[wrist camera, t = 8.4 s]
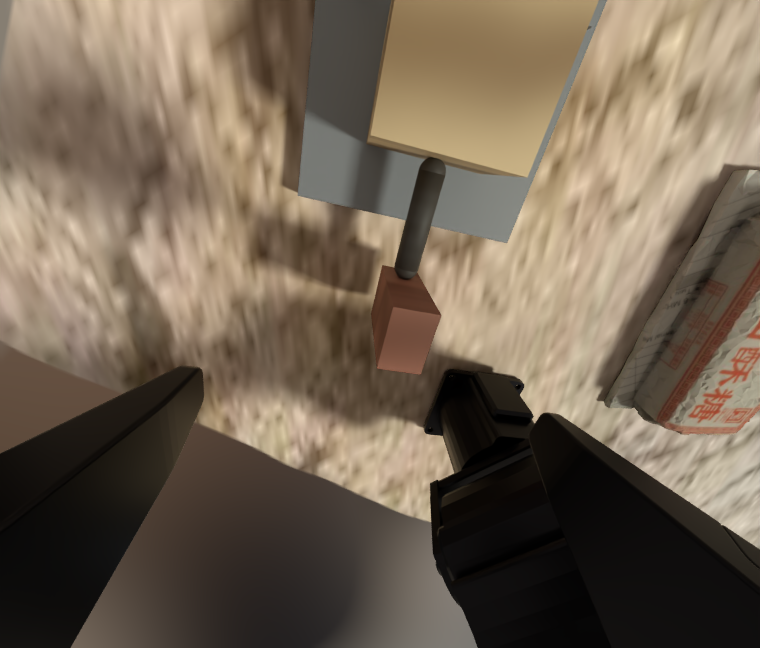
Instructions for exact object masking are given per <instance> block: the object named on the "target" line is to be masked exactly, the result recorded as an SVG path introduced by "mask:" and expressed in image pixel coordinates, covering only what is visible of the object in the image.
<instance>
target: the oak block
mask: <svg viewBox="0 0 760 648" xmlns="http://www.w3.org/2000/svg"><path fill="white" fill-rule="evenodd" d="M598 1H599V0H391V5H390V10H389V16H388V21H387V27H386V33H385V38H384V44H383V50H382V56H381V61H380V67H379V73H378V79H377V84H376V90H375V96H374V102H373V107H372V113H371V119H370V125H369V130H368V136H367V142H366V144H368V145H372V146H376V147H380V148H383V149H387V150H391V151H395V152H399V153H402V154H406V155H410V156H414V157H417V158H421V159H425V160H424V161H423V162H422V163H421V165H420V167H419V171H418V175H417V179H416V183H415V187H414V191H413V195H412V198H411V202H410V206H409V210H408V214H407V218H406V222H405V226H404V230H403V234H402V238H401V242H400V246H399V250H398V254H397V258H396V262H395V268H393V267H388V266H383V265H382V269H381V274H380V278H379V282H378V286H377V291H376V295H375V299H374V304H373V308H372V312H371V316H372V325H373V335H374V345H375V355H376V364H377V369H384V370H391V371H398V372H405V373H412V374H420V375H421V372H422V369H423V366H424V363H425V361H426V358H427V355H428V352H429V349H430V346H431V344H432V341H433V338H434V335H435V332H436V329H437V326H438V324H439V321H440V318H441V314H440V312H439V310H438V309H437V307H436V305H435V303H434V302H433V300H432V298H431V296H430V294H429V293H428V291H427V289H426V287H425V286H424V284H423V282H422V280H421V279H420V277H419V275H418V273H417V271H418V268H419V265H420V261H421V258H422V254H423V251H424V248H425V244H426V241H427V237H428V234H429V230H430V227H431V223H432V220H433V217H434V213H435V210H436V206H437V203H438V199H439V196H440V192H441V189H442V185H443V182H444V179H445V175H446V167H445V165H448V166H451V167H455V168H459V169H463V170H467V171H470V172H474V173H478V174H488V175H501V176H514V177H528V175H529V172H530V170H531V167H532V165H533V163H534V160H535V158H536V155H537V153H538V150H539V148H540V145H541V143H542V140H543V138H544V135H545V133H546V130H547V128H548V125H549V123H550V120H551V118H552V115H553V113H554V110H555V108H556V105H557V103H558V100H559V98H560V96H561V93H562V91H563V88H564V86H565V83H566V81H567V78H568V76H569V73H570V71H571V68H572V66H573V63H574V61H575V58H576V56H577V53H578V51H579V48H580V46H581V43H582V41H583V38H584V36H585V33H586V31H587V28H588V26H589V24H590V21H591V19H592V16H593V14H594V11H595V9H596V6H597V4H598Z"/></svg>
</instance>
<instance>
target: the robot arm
mask: <svg viewBox="0 0 760 648" xmlns="http://www.w3.org/2000/svg"><path fill="white" fill-rule="evenodd" d="M451 375H453V376H452V377H449V376H451ZM516 385H517V386H516ZM523 388H524V384H523V382H522V381H521V380H520V379H516V378H509V377H506V376H501V375H494V374H487V373H480V372H475V373H474V372H468V371H461V370H454V369H450V370H447V371H446V372H445V373H444V376H443V378H442V381H441V383H440V386H439V388H438V391H437V393H436V396H435V398H434V401H433V403H432V406H431V409H430V411H429V414H428V416H427V419H426V421H425V424H424V431H425V433H426V434H430V435H440V436H443V438H444V442H445V445H446V448H447V451H448V454H449V457H450V460H451V463H452V467H453V470H454V474H452V475H450V476H448V477H446V478H444V479H442V480H439V481H438V480H436V481H434V482H432V483H430V495H431V496H430V504H431V524H432V544H433V555H434V558H435V560H436V567H437V570H438V572H439V574H440V575H441V576H442V577H443V579H444V582H445V584H446V586H447V588H448V590H449V592H450V594H451V596H452V597H453V599H454V600H455V601H456V603H457V604H458V605H460V607H461V608H462V610H463V612H464V614H465V616H466V619H467V621H468V623H469V626H470V628H471V631H472V633H473V635H474V638H475V641H476V644H477V647H478V648H760V549H758V548H757V547H755V546H754V545H752V544H751V543H749V542H748V541H746V540H745V539H743V538H742V537H740V536H739V535H737V534H736V533H734V532H733V531H731V530H730V529H728V528H727V527H725V526H723V525H721V524H720V523H719V522H718V521H716V520H715V519H713V518H712V517H710V516H709V515H707V514H706V513H704V512H703V511H702V510H700V509H699V508H697V507H696V506H694V505H693V504H691V503H690V502H688V501H687V500H685V499H684V498H682V497H681V496H679V495H678V494H676V493H675V492H673V491H672V490H670V489H669V488H667V487H666V486H664V485H663V484H661V483H660V482H659V481H657V480H656V479H654V478H653V477H651V476H650V475H648V474H647V473H645V472H644V471H642V470H641V469H639V468H638V467H636V466H635V465H633V464H632V463H630V462H629V461H627V460H626V459H624V458H623V457H621V456H620V455H619V454H617V453H616V452H614V451H613V450H611V449H610V448H608V447H607V446H605V445H604V444H602V443H601V442H599V441H598V440H596V439H595V438H593V437H592V436H590V435H589V434H587V433H586V432H584V431H583V430H581V429H580V428H578V427H577V426H576V425H574V424H573V423H571V422H570V421H568V420H567V419H565V418H564V417H562V416H561V415H558V414H554V413H543V414H541V415H540V417H539V418H538V420H537V421H536V423H535V424H534V422H533V421H532V418H533V417H534V416H533V414H532V412H531V411H530V409H529V408H528V407H527V405H526V404H525V402H524V401H523V399H522V398H521V397H520V394H521V392H522V390H523ZM203 398H204V385H203V372H202V369H201V368H199V367H192V366H180V367H177V368H175V369H173V370H171V371H169V372H167V373H165V374H163V375H161V376H159V377H157V378H155V379H152V380H150V381H148V382H146V383H144V384H142V385H140V386H138V387H136V388H134V389H132V390H130V391H128V392H126V393H124V394H122V395H120V396H118V397H116V398H113V399H112V400H109V401H107V402H105V403H103V404H101V405H99V406H97V407H95V408H93V409H91V410H89V411H87V412H85V413H83V414H81V415H79V416H76V417H74V418H72V419H70V420H68V421H66V422H64V423H62V424H60V425H58V426H56V427H54V428H52V429H50V430H48V431H46V432H44V433H41V434H39V435H37V436H35V437H33V438H31V439H29V440H27V441H25V442H23V443H21V444H19V445H17V446H15V447H13V448H11V449H9V450H7V451H5V452H2V453H1V454H0V648H71V646H72V644H73V642H74V641H75V639H76V637H77V635H78V634H79V632H80V630H81V629H82V627H83V625H84V623H85V622H86V619H87V618H88V616H89V615H90V613H91V611H92V609H93V608H94V606H95V604H96V602H97V601H98V599H99V597H100V595H101V594H102V592H103V590H104V589H105V587H106V585H107V583H108V582H109V580H110V578H111V576H112V575H113V573H114V571H115V569H116V568H117V566H118V564H119V562H120V561H121V559H122V557H123V556H124V554H125V552H126V550H127V549H128V547H129V545H130V543H131V542H132V540H133V538H134V536H135V535H136V533H137V531H138V529H139V528H140V526H141V524H142V523H143V521H144V519H145V517H146V516H147V514H148V512H149V510H150V509H151V507H152V505H153V503H154V502H155V500H156V498H157V496H158V495H159V493H160V491H161V490H162V488H163V486H164V484H165V482H166V481H167V479H168V477H169V475H170V474H171V472H172V470H173V468H174V466H175V464H176V462H177V460H178V458H179V455H180V453H181V451H182V449H183V446H184V444H185V442H186V439H187V437H188V435H189V433H190V430H191V428H192V426H193V424H194V421H195V419H196V417H197V414H198V412H199V410H200V408H201V405H202V402H203Z"/></svg>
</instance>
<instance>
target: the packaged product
mask: <svg viewBox="0 0 760 648" xmlns="http://www.w3.org/2000/svg"><path fill="white" fill-rule="evenodd" d="M604 403H605V406H607V407H608V408H630V409H631V408H635V409H636V410H637V411H638V414H639V415H640V416H641V417H642V418H643V419H644V420H646V421H648V422H650V423H653V424H658V425H660V426H663V427H664V428H666V429H669V430H673V431H676V432H678V433H680V434H683V435H689V434H690V433H692V434H707V435H726V434H729V435H733V434H735V433H737V432H738V431H739V430H740V429H741V428H742V427H743V426H744V424H745V423H747V422H749V420H750V418H752V417H753V416H754V415H755V413H756V412H757V411H758V410H759V409H760V170H738V171H733V173H732V174H731V176H730V178H729V180H728V181H727V183H726V185H725V186H724V188H723V190H722V191H721V193H720V195H719V196H718V198H717V200H716V201H715V203H714V205H713V208H712V210H711V212H710V214H709V216H708V219H707V221H706V223H705V225H704V227H703V230H702V232H701V234H700V236H699V238H698V240H697V241H696V242H695V244H694V245H693V246H692V247H691V249H690V250H689V251H688V253H687V255H686V257H685V259H684V260H683V262H682V264H681V265H680V267H679V269H678V271H677V272H676V274H675V276H674V277H673V279H672V281H671V282H670V284H669V286H668V287H667V289H666V291H665V293H664V294H663V296H662V298H661V300H660V301H659V303H658V305H657V307H656V308H655V310H654V311H653V313H652V314H651V316H650V318H649V319H648V321H647V322H646V324H645V326H644V328H643V331H642V332H641V333H640V335H639V337H638V340H637V342H636V344H635V346H634V348H633V351H632V352H631V354H630V355H629V357H628V359H627V361H626V363H625V365H624V367H623V369H622V371H621V373H620V375H619V376H618V378H617V379H616V381H615V383H614V384H613V386H612V387H611V389H610V391H609V393H608V395H607V397H606V399H605V400H604Z"/></svg>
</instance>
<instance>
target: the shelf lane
mask: <svg viewBox="0 0 760 648" xmlns="http://www.w3.org/2000/svg"><path fill="white" fill-rule="evenodd" d="M606 1H607V0H599V1H598V4H597V6H596V9H595V11H594V14H593V16H592V19H591V21H590V24H589V26H588V28H587V31H586V33H585V36H584V38H583V41H582V43H581V46H580V48H579V51H578V53H577V56H576V58H575V61H574V63H573V66H572V68H571V71H570V73H569V76H568V78H567V81H566V83H565V86H564V88H563V91H562V93H561V96H560V98H559V100H558V103H557V105H556V108H555V110H554V113H553V115H552V118H551V120H550V123H549V125H548V128H547V130H546V133H545V135H544V138H543V140H542V143H541V145H540V148H539V150H538V153H537V155H536V158H535V160H534V163H533V165H532V167H531V170H530V172H529V175H528V177H514V176H501V175H488V174H478V173H474V172H470V171H467V170H463V169H459V168H455V167H451V166H448V165H445V167H446V175H445V179H444V182H443V185H442V189H441V192H440V196H439V199H438V203H437V206H436V210H435V213H434V217H433V220H432V223H431V226H434V227H438V228H442V229H447V230H451V231H456V232H460V233H464V234H469V235H473V236H478V237H482V238H486V239H491V240H495V241H500V242H504V243H507V242H508V239H509V237H510V235H511V232H512V230H513V227H514V225H515V222H516V220H517V218H518V215H519V213H520V210H521V208H522V205H523V203H524V201H525V198H526V196H527V193H528V191H529V188H530V186H531V184H532V181H533V179H534V176H535V174H536V171H537V169H538V167H539V164H540V162H541V159H542V157H543V154H544V152H545V150H546V147H547V145H548V142H549V140H550V137H551V135H552V133H553V130H554V128H555V125H556V123H557V120H558V118H559V116H560V113H561V111H562V108H563V106H564V103H565V101H566V99H567V96H568V94H569V91H570V89H571V86H572V84H573V82H574V79H575V77H576V74H577V72H578V69H579V67H580V65H581V62H582V60H583V57H584V55H585V52H586V50H587V48H588V45H589V43H590V40H591V38H592V35H593V33H594V31H595V28H596V26H597V23H598V21H599V18H600V16H601V14H602V11H603V9H604V6H605V4H606ZM390 5H391V0H315V11H314V22H313V33H312V44H311V55H310V66H309V77H308V88H307V99H306V110H305V121H304V132H303V143H302V154H301V165H300V176H299V187H298V196H301V197H306V198H310V199H315V200H319V201H324V202H328V203H332V204H337V205H341V206H346V207H350V208H354V209H359V210H363V211H368V212H372V213H376V214H381V215H385V216H390V217H394V218H398V219H403V220H406V218H407V214H408V210H409V206H410V202H411V198H412V195H413V191H414V187H415V183H416V179H417V175H418V171H419V167H420V165H421V163H422V162H423V161H424V160H425V159H421V158H417V157H414V156H410V155H406V154H402V153H399V152H395V151H391V150H387V149H383V148H380V147H376V146H372V145H368V144H366V142H367V136H368V130H369V125H370V119H371V113H372V107H373V102H374V96H375V90H376V84H377V79H378V73H379V67H380V61H381V56H382V50H383V44H384V38H385V33H386V27H387V21H388V16H389V10H390Z"/></svg>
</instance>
